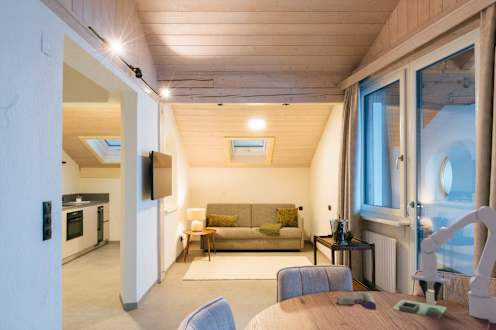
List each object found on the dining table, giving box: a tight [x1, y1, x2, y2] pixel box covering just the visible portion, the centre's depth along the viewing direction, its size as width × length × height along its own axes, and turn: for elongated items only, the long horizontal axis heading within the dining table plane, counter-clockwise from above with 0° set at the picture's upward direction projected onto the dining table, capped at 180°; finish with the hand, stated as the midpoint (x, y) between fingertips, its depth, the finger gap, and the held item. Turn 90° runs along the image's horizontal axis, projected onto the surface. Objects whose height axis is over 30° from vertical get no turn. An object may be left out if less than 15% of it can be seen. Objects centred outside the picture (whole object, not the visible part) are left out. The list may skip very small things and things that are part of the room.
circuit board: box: [391, 299, 448, 319], centre depth 144 cm, size 18×16×2 cm
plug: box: [425, 289, 437, 305], centre depth 144 cm, size 3×4×5 cm, turn 141°
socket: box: [398, 302, 419, 314], centre depth 143 cm, size 6×8×2 cm
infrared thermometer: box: [337, 292, 377, 310], centre depth 150 cm, size 5×12×15 cm
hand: (431, 299), depth 144 cm, fingers closed on plug, 3 cm apart
